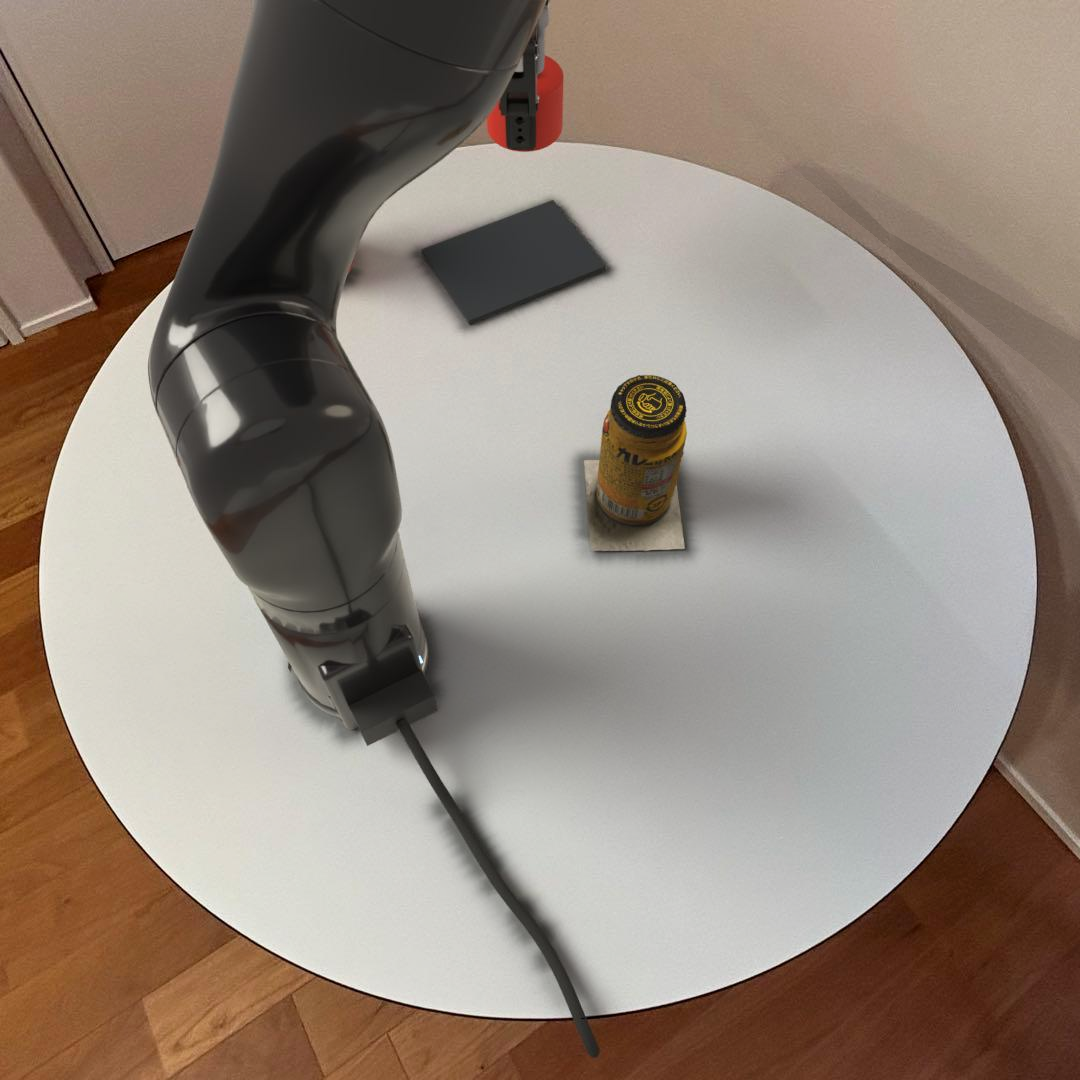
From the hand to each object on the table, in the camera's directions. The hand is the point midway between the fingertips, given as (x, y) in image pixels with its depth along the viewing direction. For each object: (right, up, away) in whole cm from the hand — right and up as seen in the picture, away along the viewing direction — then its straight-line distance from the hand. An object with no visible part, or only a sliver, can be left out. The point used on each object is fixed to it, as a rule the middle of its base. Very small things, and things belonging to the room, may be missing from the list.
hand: (523, 118), depth 75 cm
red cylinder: (0, 0, +1) cm, 1 cm away
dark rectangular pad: (-1, -6, +16) cm, 17 cm away
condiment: (+9, -30, +3) cm, 31 cm away
